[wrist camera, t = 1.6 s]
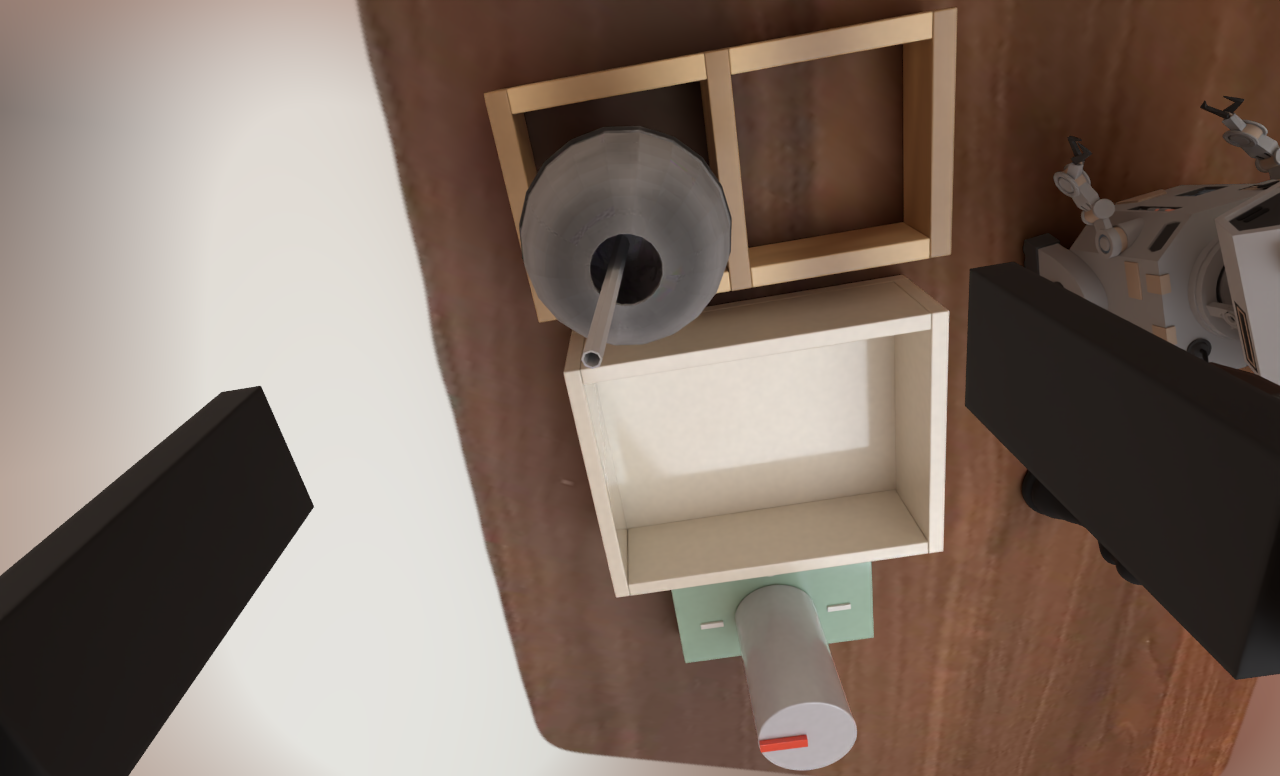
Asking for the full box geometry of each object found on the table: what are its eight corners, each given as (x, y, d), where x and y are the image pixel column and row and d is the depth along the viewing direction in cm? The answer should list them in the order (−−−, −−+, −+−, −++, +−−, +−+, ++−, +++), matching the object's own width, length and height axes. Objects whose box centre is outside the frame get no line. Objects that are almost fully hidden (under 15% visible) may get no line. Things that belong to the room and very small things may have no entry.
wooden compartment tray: (924, 11, 31) (958, 6, 28) (923, 237, 36) (951, 255, 33) (496, 89, 32) (482, 93, 29) (546, 300, 37) (538, 323, 34)
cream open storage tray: (903, 273, 36) (949, 310, 31) (904, 490, 42) (943, 551, 37) (571, 328, 37) (562, 372, 32) (616, 532, 43) (615, 598, 38)
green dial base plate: (858, 510, 43) (872, 537, 40) (862, 627, 47) (875, 658, 44) (664, 539, 43) (666, 567, 41) (685, 652, 48) (688, 683, 45)
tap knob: (813, 578, 42) (857, 701, 34) (818, 640, 44) (860, 769, 36) (730, 590, 42) (754, 714, 34) (738, 651, 44) (763, 781, 36)
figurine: (1205, 64, 32) (1621, 69, 19) (1197, 292, 37) (1525, 427, 24) (1006, 126, 33) (1265, 173, 20) (1023, 340, 38) (1241, 496, 25)
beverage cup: (731, 180, 34) (849, 317, 16) (629, 285, 36) (633, 510, 18) (621, 67, 32) (616, 81, 14) (520, 187, 34) (403, 332, 16)
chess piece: (1048, 524, 43) (1159, 646, 34) (1006, 484, 42) (1110, 601, 33) (1110, 478, 42) (1243, 593, 33) (1068, 436, 41) (1194, 544, 32)
